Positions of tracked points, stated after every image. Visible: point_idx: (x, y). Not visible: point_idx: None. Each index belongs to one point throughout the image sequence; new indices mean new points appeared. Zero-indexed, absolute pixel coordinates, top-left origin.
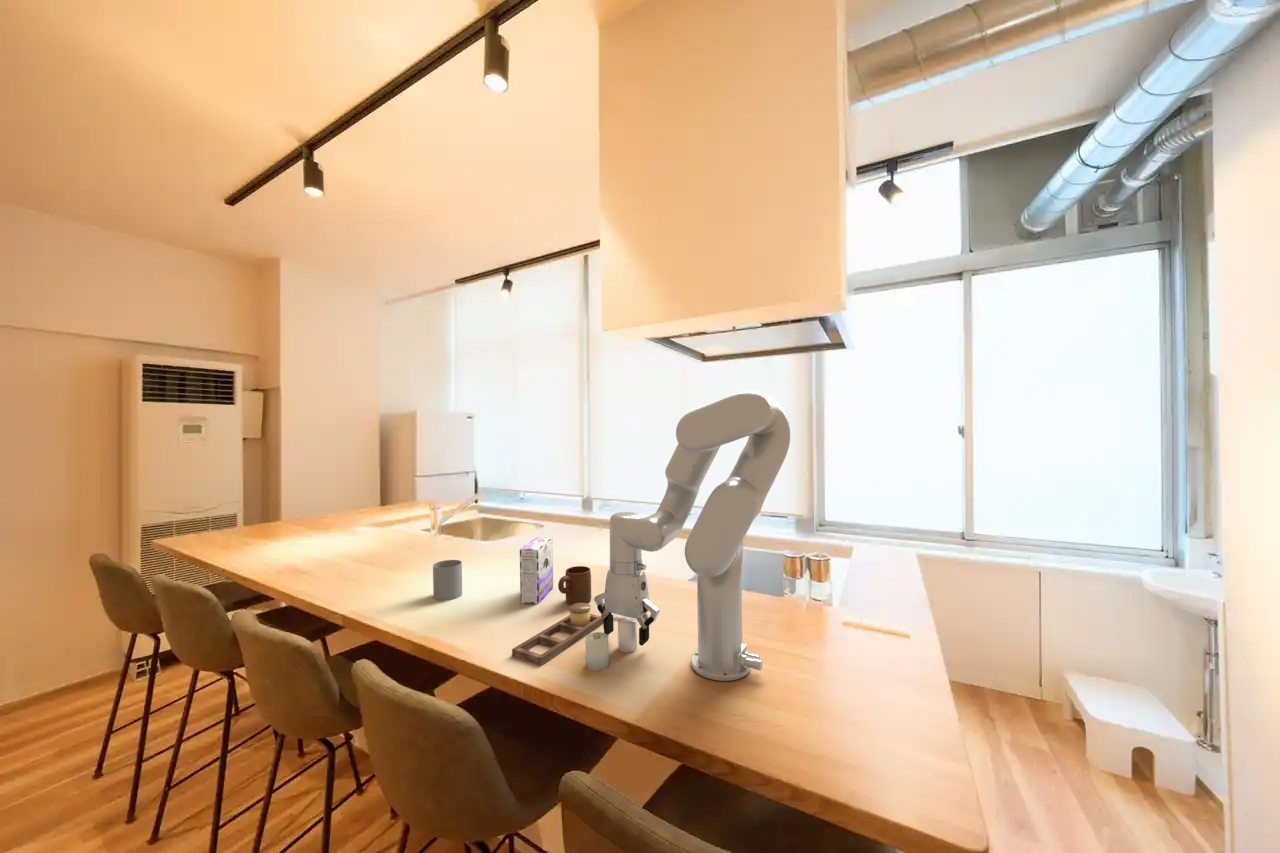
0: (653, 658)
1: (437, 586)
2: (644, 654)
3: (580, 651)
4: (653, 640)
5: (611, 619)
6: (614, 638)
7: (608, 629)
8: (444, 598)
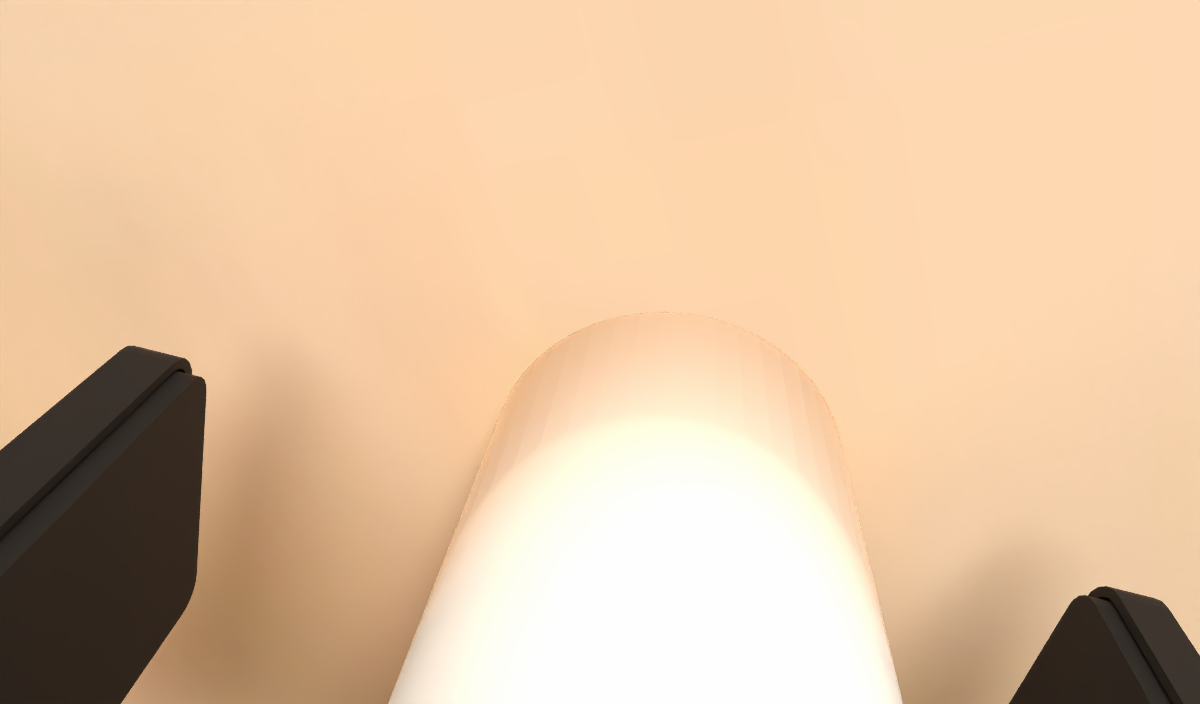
0: None
1: None
2: (1015, 615)
3: None
4: (1183, 60)
5: (4, 676)
6: (267, 169)
7: (139, 623)
8: None
